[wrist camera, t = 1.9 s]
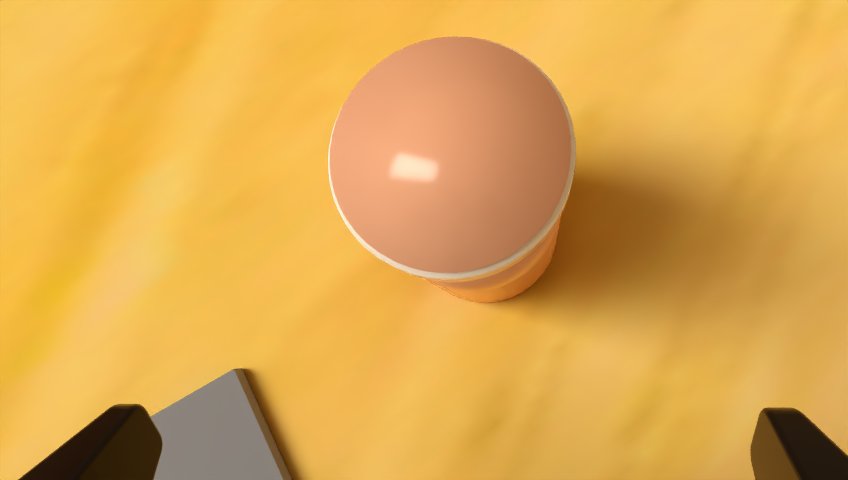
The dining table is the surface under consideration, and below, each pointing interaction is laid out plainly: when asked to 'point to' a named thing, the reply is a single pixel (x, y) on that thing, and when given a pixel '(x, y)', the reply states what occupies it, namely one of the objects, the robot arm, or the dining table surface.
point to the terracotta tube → (455, 166)
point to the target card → (218, 435)
